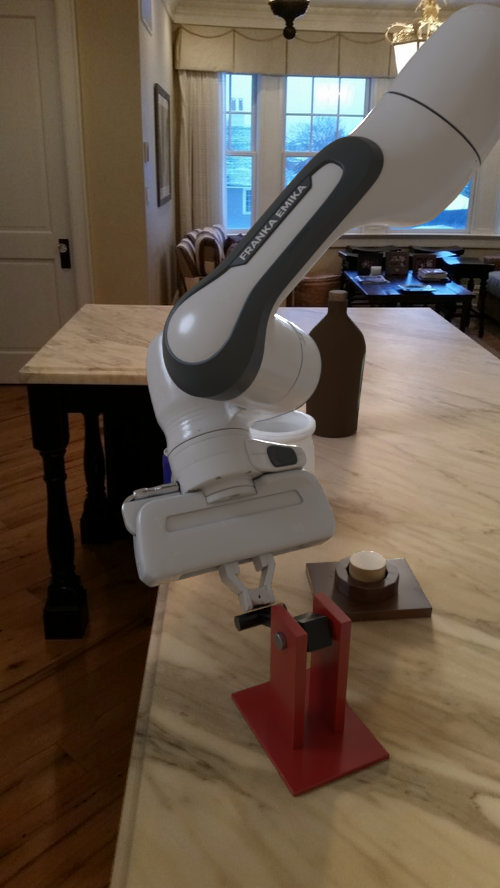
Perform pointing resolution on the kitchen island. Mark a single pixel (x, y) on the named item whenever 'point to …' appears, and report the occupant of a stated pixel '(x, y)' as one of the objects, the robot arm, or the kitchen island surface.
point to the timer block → (371, 591)
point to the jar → (289, 433)
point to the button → (367, 566)
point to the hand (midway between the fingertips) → (259, 608)
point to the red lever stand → (309, 705)
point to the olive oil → (338, 370)
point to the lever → (309, 622)
